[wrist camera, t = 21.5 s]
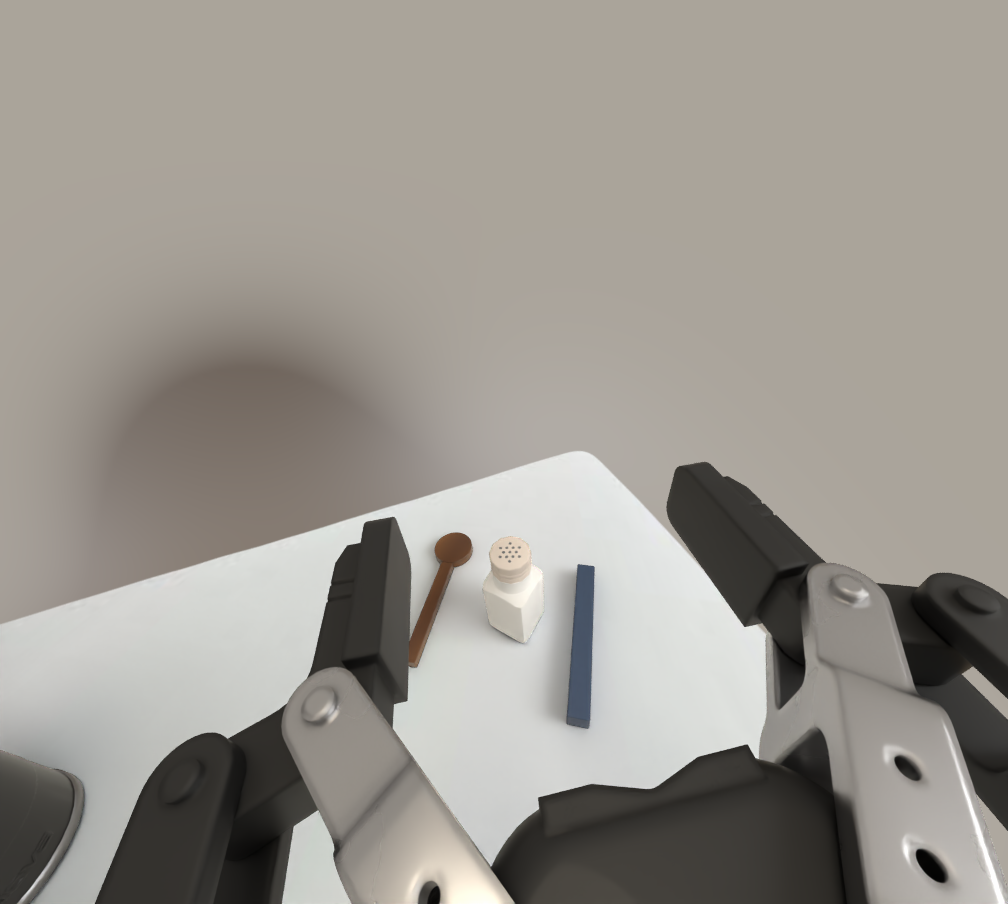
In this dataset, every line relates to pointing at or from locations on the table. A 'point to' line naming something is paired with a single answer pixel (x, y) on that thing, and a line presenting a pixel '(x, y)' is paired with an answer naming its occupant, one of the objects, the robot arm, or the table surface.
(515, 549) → the salt shaker
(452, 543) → the wooden spoon
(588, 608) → the blue stick
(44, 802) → the robot arm
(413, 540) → the table surface
